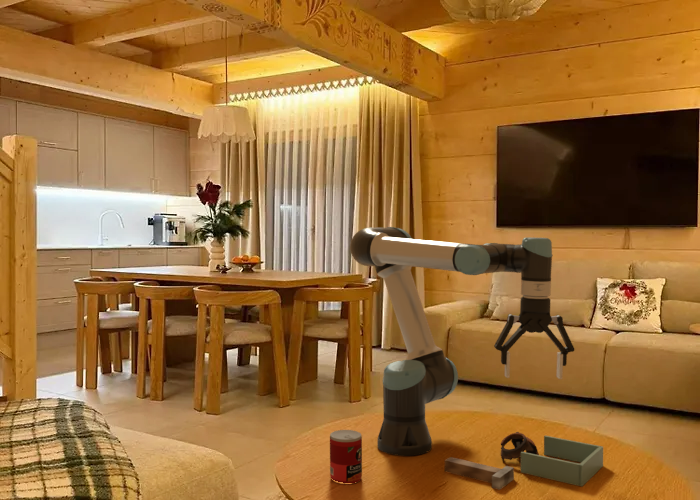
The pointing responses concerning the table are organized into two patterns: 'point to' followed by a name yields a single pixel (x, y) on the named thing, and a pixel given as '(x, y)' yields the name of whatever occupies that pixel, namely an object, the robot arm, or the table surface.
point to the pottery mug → (517, 446)
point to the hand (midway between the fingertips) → (533, 377)
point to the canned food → (346, 456)
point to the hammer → (480, 472)
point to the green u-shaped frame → (564, 469)
